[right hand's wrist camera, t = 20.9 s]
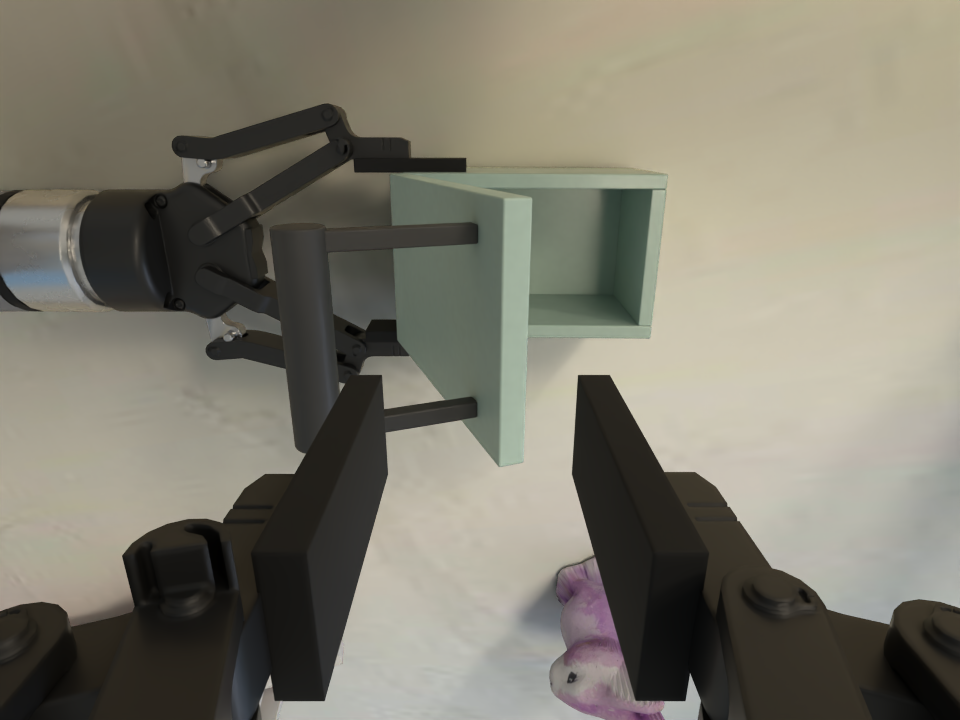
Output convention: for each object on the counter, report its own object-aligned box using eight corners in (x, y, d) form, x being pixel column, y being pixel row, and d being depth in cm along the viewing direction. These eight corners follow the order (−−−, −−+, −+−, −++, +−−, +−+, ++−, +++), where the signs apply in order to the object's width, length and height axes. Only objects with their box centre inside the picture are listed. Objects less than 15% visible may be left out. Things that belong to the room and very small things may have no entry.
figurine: (527, 588, 54) (547, 743, 40) (617, 526, 52) (671, 668, 38) (588, 647, 57) (627, 812, 43) (676, 591, 55) (748, 746, 41)
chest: (632, 167, 41) (668, 174, 33) (620, 302, 45) (650, 338, 37) (417, 166, 42) (400, 172, 33) (422, 301, 45) (406, 336, 37)
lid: (533, 196, 19) (269, 204, 16) (524, 463, 22) (304, 507, 20) (407, 173, 33) (254, 175, 30) (413, 338, 36) (277, 354, 34)
